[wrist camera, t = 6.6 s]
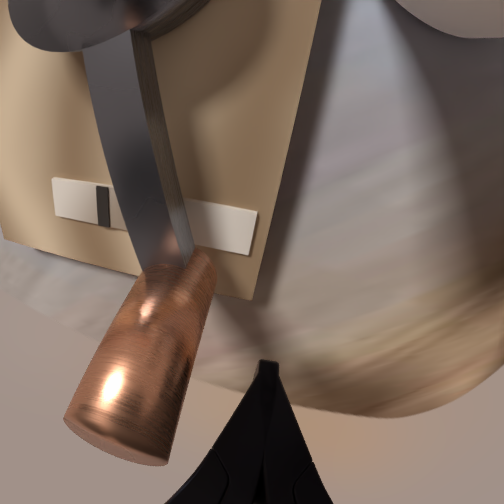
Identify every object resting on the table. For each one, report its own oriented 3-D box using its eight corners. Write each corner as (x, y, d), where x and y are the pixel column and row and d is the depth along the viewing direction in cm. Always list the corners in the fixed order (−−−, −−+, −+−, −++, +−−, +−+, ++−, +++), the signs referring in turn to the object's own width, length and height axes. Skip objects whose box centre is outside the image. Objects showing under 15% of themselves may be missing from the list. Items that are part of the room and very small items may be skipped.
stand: (336, -90, 5) (344, -111, 3) (254, 277, 13) (250, 305, 12) (41, -65, 4) (18, -71, 3) (20, 224, 13) (1, 241, 11)
